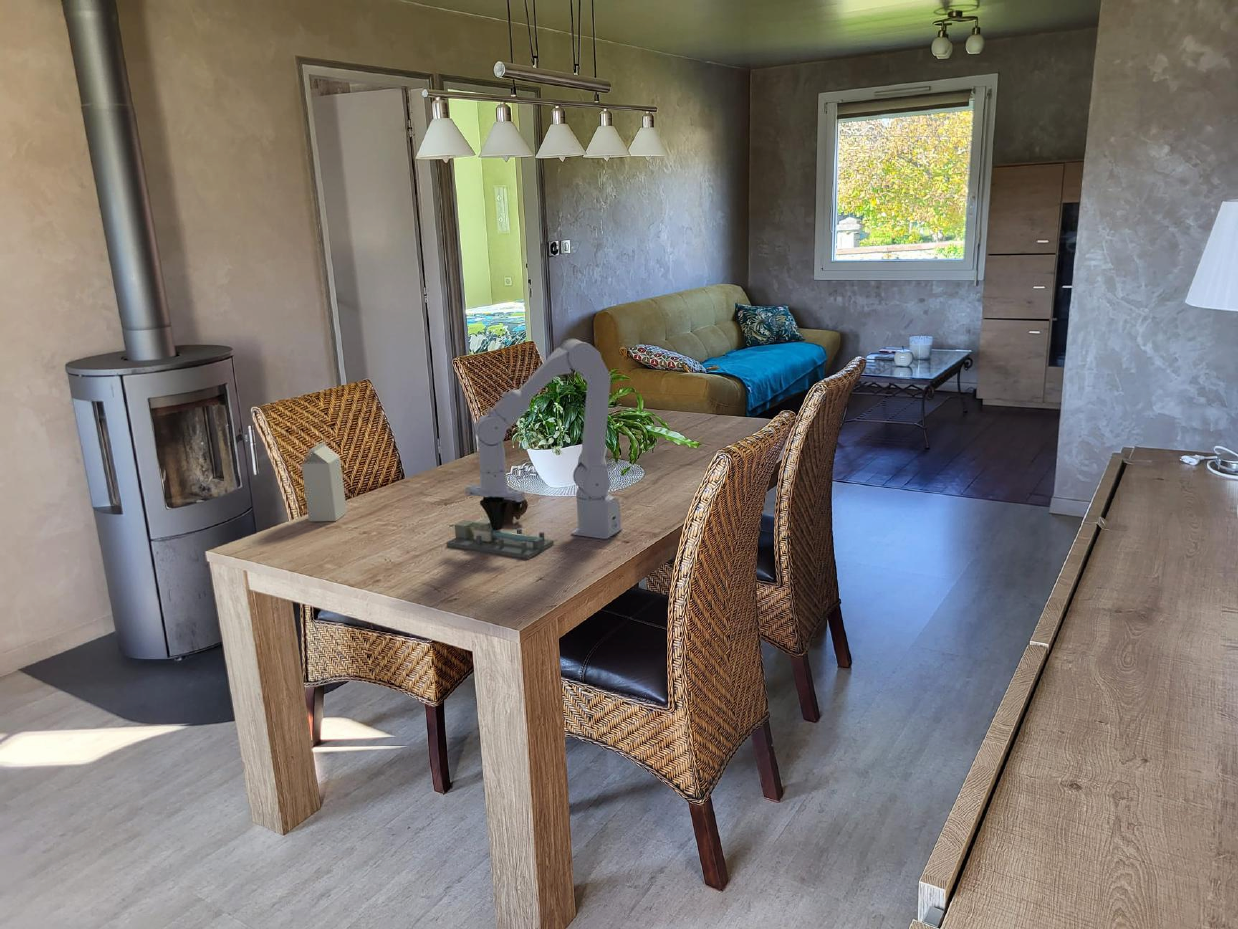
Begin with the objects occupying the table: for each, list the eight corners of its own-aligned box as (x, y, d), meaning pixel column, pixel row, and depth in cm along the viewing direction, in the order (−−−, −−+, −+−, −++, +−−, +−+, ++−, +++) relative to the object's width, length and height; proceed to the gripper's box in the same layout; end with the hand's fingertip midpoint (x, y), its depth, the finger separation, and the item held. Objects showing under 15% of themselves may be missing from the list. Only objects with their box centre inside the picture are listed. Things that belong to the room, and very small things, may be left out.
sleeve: (500, 535, 207) (498, 518, 206) (488, 541, 203) (487, 523, 202) (485, 533, 208) (484, 516, 207) (474, 539, 205) (472, 521, 204)
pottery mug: (477, 528, 219) (475, 495, 221) (498, 534, 227) (496, 502, 230) (520, 519, 214) (518, 485, 217) (540, 525, 223) (537, 492, 225)
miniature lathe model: (553, 544, 203) (552, 527, 202) (528, 559, 195) (526, 541, 194) (474, 532, 214) (472, 516, 213) (447, 546, 205) (445, 528, 204)
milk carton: (347, 513, 234) (338, 440, 229) (336, 521, 227) (326, 447, 222) (320, 513, 235) (311, 441, 230) (308, 522, 228) (298, 448, 223)
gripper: (455, 471, 200) (460, 530, 204) (509, 477, 193) (514, 538, 197) (474, 464, 206) (479, 521, 210) (528, 469, 199) (532, 528, 203)
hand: (497, 529), depth 204 cm, fingers closed
